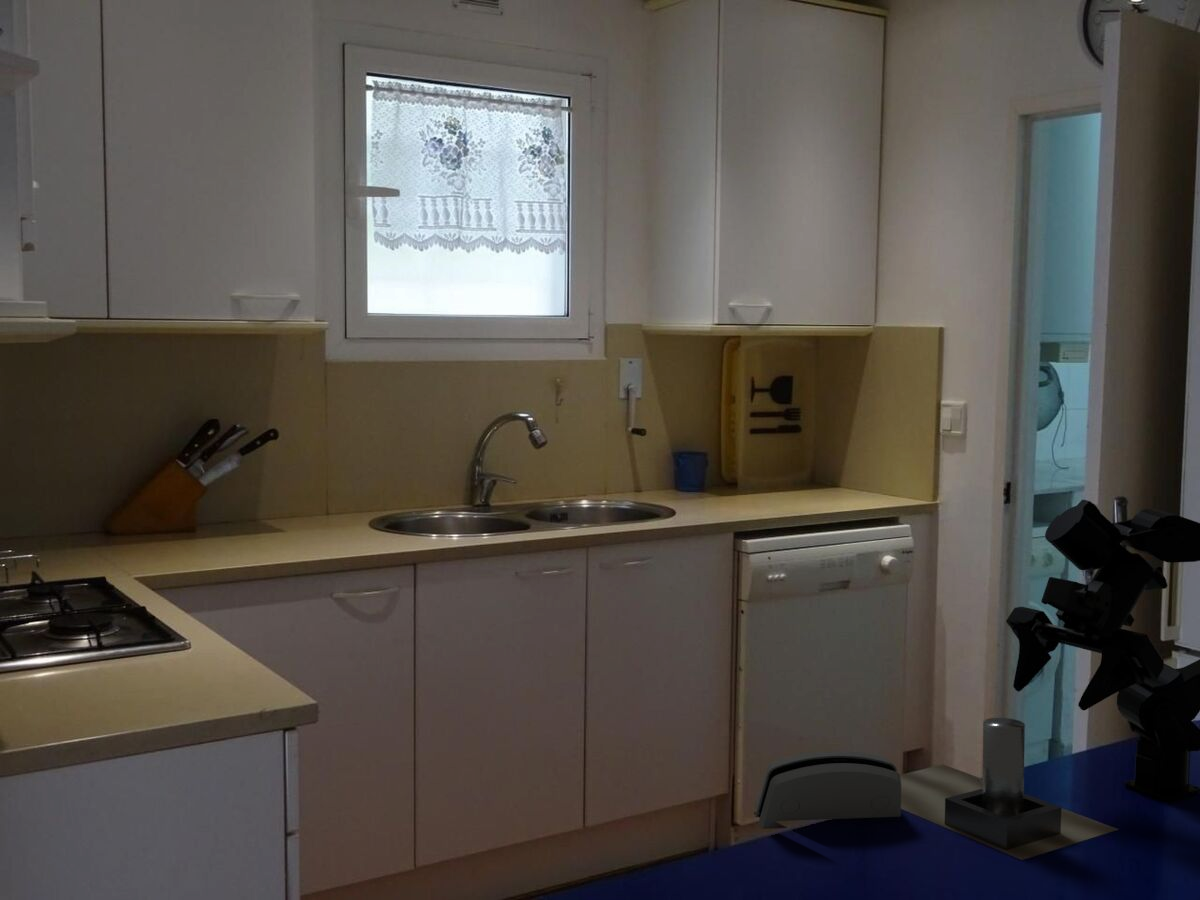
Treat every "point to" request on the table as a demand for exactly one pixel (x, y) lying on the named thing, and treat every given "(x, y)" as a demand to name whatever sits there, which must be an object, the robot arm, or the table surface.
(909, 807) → the board
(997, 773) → the pin
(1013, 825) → the knuckle socket
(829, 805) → the grey arched block
